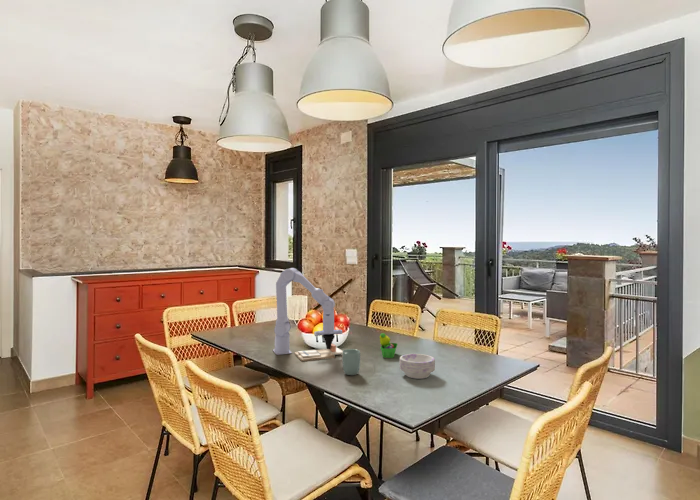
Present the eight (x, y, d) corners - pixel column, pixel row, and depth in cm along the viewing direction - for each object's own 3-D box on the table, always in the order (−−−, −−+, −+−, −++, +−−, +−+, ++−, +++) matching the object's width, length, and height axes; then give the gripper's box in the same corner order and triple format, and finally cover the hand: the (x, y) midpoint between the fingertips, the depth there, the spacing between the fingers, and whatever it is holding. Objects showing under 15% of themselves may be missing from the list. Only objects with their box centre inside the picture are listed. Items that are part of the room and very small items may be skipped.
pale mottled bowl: (410, 368, 193) (411, 350, 193) (440, 375, 183) (441, 357, 183) (392, 376, 181) (392, 358, 181) (423, 384, 171) (423, 364, 171)
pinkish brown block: (326, 349, 219) (327, 342, 219) (336, 348, 221) (337, 341, 221) (333, 354, 210) (333, 347, 210) (343, 353, 212) (343, 346, 212)
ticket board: (294, 354, 215) (294, 350, 215) (325, 350, 221) (325, 347, 221) (301, 361, 202) (301, 357, 202) (334, 357, 208) (334, 354, 208)
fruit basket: (395, 359, 207) (395, 336, 207) (377, 357, 209) (378, 335, 209) (397, 353, 218) (397, 331, 218) (380, 351, 220) (380, 330, 220)
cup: (344, 377, 179) (345, 354, 178) (340, 372, 186) (340, 349, 186) (362, 376, 181) (362, 353, 180) (357, 370, 188) (357, 348, 188)
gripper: (317, 324, 207) (317, 352, 208) (344, 322, 213) (344, 349, 213) (313, 322, 214) (313, 348, 214) (339, 320, 219) (339, 346, 220)
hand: (328, 348), depth 214 cm, fingers closed
